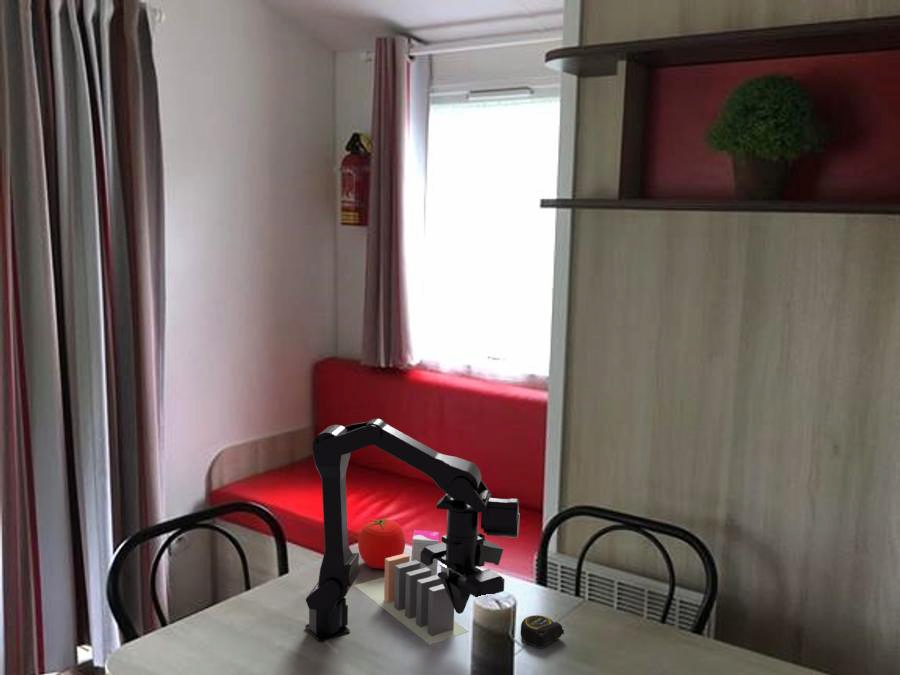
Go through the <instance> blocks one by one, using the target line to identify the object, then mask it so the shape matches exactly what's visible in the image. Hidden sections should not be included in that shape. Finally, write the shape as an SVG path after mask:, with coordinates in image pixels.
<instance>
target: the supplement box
mask: <svg viewBox="0 0 900 675" xmlns="http://www.w3.org/2000/svg"><path fill="white" fill-rule="evenodd" d="M411 543H412V545H411V556H410V557H411V558H410V559H411V560H410V562H411V561H414V560H417V561H418V562H420V559H421V551H422V550H423V549H424V547H427V546H431V545H435V544H439V543H440V531H429V530H428V531H427V530H421V529H420V530H418V529H414V530H413V534H412V542H411ZM438 564H439V560H437V559H433V564H432V565H431V566H426V565H425V564H423V563H422V562H420V569H422V568H425V567H428V568H429V569H431V576H434V575H437V574H438Z"/></svg>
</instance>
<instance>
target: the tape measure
mask: <svg viewBox="0 0 900 675" xmlns="http://www.w3.org/2000/svg"><path fill="white" fill-rule="evenodd" d="M564 634H565V629H563V625H562V624H561V622H557V621H553V620H552V619H551V618H550V617H547V616H544V615H539V614H535V615H534V614H533V615H529V616H527V617H524V619H523V620H522V621H521V623H520V638H521V639H522V640H523V642H525V643H526V644H528V645H531V646H535V647H537V648H544V647H546V646H548V645H549V644H550V643H552V642H554V641H556V640H557V639H560V638H561V637H562V635H564Z"/></svg>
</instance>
